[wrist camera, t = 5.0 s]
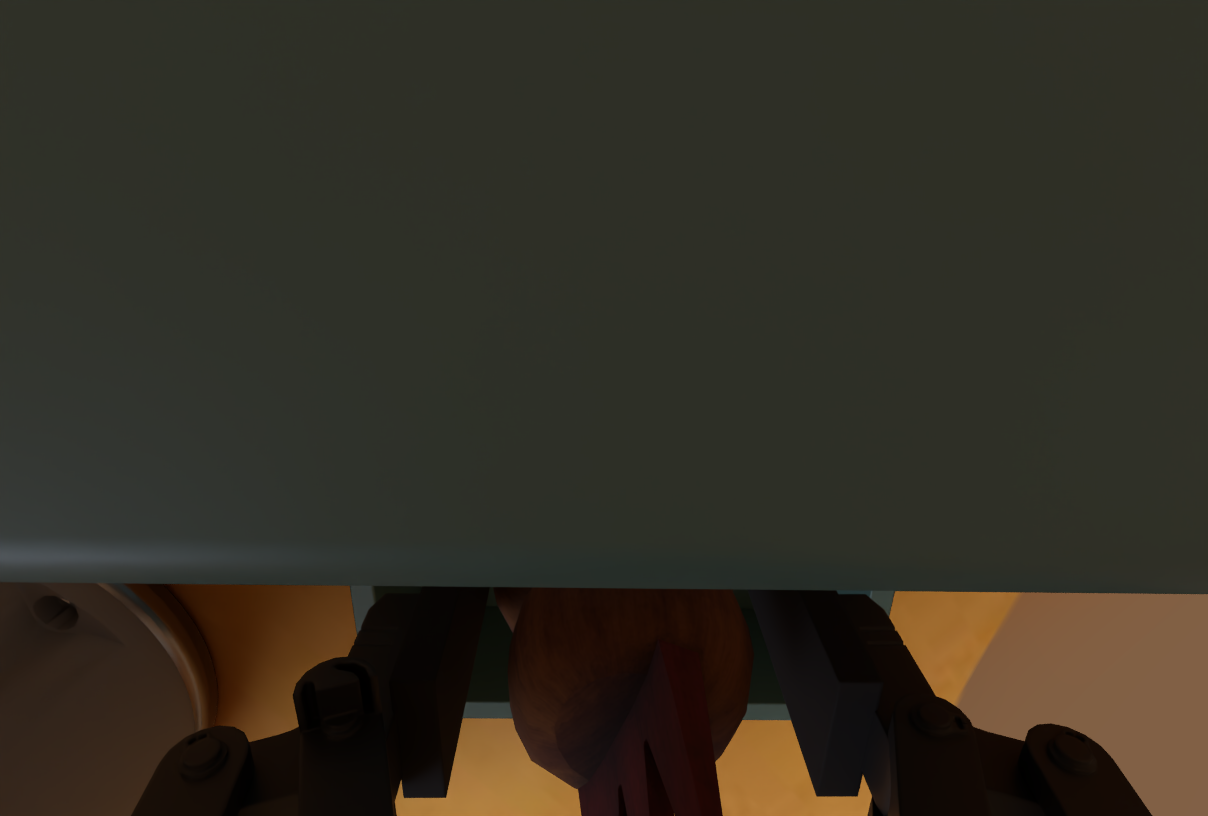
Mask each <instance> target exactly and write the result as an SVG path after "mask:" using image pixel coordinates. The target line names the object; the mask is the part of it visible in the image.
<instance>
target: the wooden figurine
mask: <svg viewBox="0 0 1208 816" xmlns="http://www.w3.org/2000/svg"><path fill="white" fill-rule="evenodd" d="M493 590H494V594H495V598H496V602H497V605H498V607H499V609H500V610H501V612H502V614H503V616H504V618H505V620H506V621H507V623H508V625H509V627H510V629H511V631H512V632H513V635H512V639H511V643H510V647H509V659H508V685H509V700H510V708H511V712H512V717H513V721H514V725H515V729H516V731H517V733H518V735H519V737H520V739H521V741H522V743H523V745H524V747H525V749H526V751H527V753H528V755H529V757H530V759H531V761H533V762H535V763H536V764H538V765H539V766H541V767H542V768H544V769H546V770H547V771H549V772H550V773H552V774H553V775H555V776H556V777H558V778H560V779H561V780H563V781H564V782H566V783H567V784H569V785H570V786H572V787H574V788H576V789H578V792H579V799H580V807H581V815H582V816H674V814H675V816H723V815H722V808H721V801H720V793H719V786H718V779H717V772H716V765H715V762H716V760H717V759H718V758H719V757H720V756H721V755H722V754H723V752H724V750H725V749H726V747H727V745H728V744H729V742H730V741H731V739H732V737H733V735H734V734H735V732H736V730H737V728H738V727H739V725H740V723H741V721H742V719H743V718H744V716H745V714H746V712H747V705H748V698H749V691H750V683H751V675H752V667H753V659H754V652H753V646H752V641H751V636H750V631H749V628H748V625H747V623H746V621H745V618H744V616H743V614H742V611H741V609H740V607H739V604H738V602H737V600H736V597H735V595H734V593H733V590H734V589H643V588H542V587H493Z"/></svg>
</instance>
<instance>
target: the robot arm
mask: <svg viewBox="0 0 1208 816" xmlns="http://www.w3.org/2000/svg"><path fill="white" fill-rule="evenodd" d="M489 589H490V587H441V586H422V589H421V592H420V593H385V594H384V595H383V596H382V597H381V598H380V599H379V600H378V601H377V602H376V603H375V604H374V605H373V606H371V607H370V608H369V610H368V612H367V614H366V616H365V619H364V621H363V623H362V625H361V630H360V631H359V632H358V634H357V637H356V639H355V641H354V645H353V646H352V648H351V650H350V652H349V655H348V657H339V658H333V659H330V660H328V661H325V662H322V663H319V664H318V665H316V666H315V667H313V668H312V669H310V670H309V671H307V672H306V673H305V674H304V675H303V676H302V677H301V679H300V680H299V681H298V682H297V683H296V686H295V690H294V693H293V699H294V704H295V709H296V714H297V719H298V724H299V727H298V728H296V729H294V730H291V731H288V732H285V733H283V734H280V735H276V736H272V737H268V738H264V739H260V740H256V741H252V742H249V741H248V739H247V737H246V735H245V733H244V732H243V731H241V730H239V729H237V728H235V727H231V726H215V727H213V726H214V723H215V718H216V714H217V705H218V689H217V680H216V675H215V670H214V666H213V663H212V660H211V657H210V654H209V651H208V649H207V647H206V645H205V642H204V640H203V638H202V636H201V634H200V633H199V631H198V629H197V627H196V626H195V624H194V622H193V621H192V620H191V618H190V617H189V615H188V614H187V612H186V611H185V610H184V608H183V607H182V606H181V605H180V603H179V602H178V601H177V600H176V599H175V597H174V596H173V595H172V594H171V593H170V592H169V591H168V590H167V589H166V588H165V587H164V586H163V585H162V584H138V583H37V582H0V816H397V815H396V808H395V799H396V795H397V792H398V788H399V785H400V781H401V780H402V788H403V796H404V798H446V795H447V790H448V786H449V781H450V776H451V771H452V766H453V762H454V757H455V752H456V747H457V743H458V738H459V733H460V728H461V723H462V719H463V714H464V709H465V704H466V699H467V695H468V690H469V685H470V680H471V675H472V671H473V666H474V661H475V656H476V651H477V647H478V642H479V637H480V632H481V628H482V623H483V618H484V613H485V608H486V604H487V599H488V594H489ZM748 592H749V595H750V598H751V601H752V604H753V607H754V610H755V613H756V616H757V619H758V622H759V625H760V628H761V631H762V634H763V637H764V640H765V643H766V646H767V649H768V652H769V655H770V658H771V661H772V664H773V667H774V670H775V673H776V676H777V679H778V682H779V685H780V688H781V691H782V694H783V697H784V700H785V703H786V706H787V709H788V712H789V715H790V718H791V721H792V724H793V727H794V730H795V733H796V736H797V739H798V742H799V745H800V748H801V751H802V754H803V757H804V760H805V763H806V766H807V769H808V772H809V775H810V778H811V781H812V784H813V787H814V790H815V793H816V796H858V792H859V788H860V784H861V780H862V775H864V777H865V780H866V782H867V785H868V787H869V789H870V792H871V794H872V799H871V803H870V808H869V812H868V816H1152V815H1151V813H1150V812H1149V810H1148V809H1147V807H1146V806H1145V805H1144V803H1143V802H1142V800H1141V799H1140V798H1139V796H1138V795H1137V793H1136V792H1135V790H1134V789H1133V787H1132V786H1131V784H1130V783H1129V782H1128V780H1127V779H1126V777H1125V776H1124V774H1123V773H1122V772H1121V770H1120V769H1119V767H1118V766H1117V764H1116V763H1115V762H1114V760H1113V759H1112V758H1111V756H1110V755H1109V754H1108V753H1107V752H1106V751H1105V750H1104V749H1103V748H1102V747H1101V746H1100V745H1099V744H1097V743H1096V742H1094V741H1093V740H1092V739H1090V738H1088V737H1087V736H1086V735H1084V734H1082V733H1080V732H1077V731H1075V730H1073V729H1071V728H1068V727H1065V726H1060V725H1055V724H1039V725H1036V726H1034V727H1033V728H1031V729H1030V730H1029V731H1028V733H1027V736H1026V739H1025V741H1021V740H1017V739H1013V738H1009V737H1006V736H1002V735H998V734H994V733H990V732H987V731H984V730H981V729H977V728H975V727H973V726H972V724H971V722H970V720H969V719H968V718H967V716H966V715H965V714H964V713H963V712H962V711H961V710H960V709H959V708H957V707H956V706H954V705H953V704H951V703H950V702H948V701H947V700H945V699H942V698H939V697H937V696H935V694H934V692H933V691H932V689H931V687H930V685H929V684H928V682H927V680H926V679H925V677H924V675H923V674H922V672H921V670H920V669H919V667H918V665H917V664H916V662H915V660H914V659H913V657H912V655H911V654H910V652H909V650H908V649H907V647H906V645H904V644H903V640H902V639H901V637H900V635H899V634H898V632H897V631H895V627H894V625H893V623H892V622H891V620H890V618H889V617H888V615H887V613H886V612H885V610H884V609H883V608H882V607H880V606H879V605H878V604H877V603H876V602H874V601H873V600H872V599H871V598H870V597H868V596H867V595H866V594H838V593H837V591H836V590H748Z"/></svg>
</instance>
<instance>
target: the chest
mask: <svg viewBox="0 0 1208 816" xmlns="http://www.w3.org/2000/svg"><path fill="white" fill-rule="evenodd" d="M421 589H422V586H350V590H351V597H352V604H353V611H354V618H355V625H356V631H357V634H358V632H359V631H360V630H361V625H362V623H363V621H364V619H365V616H366V614H367V612H368V610H369V608H370V607H371V606H373V605H374V604H375V603H376V602H377V601H378V600H379V599H380V598H381V597H382V596H383V595H384V594H385V593H420V592H421ZM836 591H837V593H838V594H866V595H867V596H868V597H870V598H871V599H872V600H873V601H874V602H876V603H877V604H878V605H879V606H880V607H882V608H883V609H884V610H885V612H886V613H887V615H888V617H889V615H890V610H891V606H892V602H893V597H894V593H895V591H845V590H836ZM733 593H734V595H735V597H736V600H737V602H738V604H739V607H740V609H741V611H742V614H743V616H744V618H745V621H746V623H747V625H748V628H749V631H750V636H751V641H752V646H753V652H754V659H753V667H752V675H751V683H750V691H749V698H748V705H747V712H746V714H745V716H744V718H743V719H742V720H791V718H790V715H789V712H788V709H787V706H786V703H785V700H784V697H783V694H782V691H781V688H780V685H779V682H778V679H777V676H776V673H775V670H774V667H773V664H772V661H771V658H770V655H769V652H768V649H767V646H766V643H765V640H764V637H763V634H762V631H761V628H760V625H759V622H758V619H757V616H756V613H755V610H754V607H753V604H752V601H751V598H750V595H749V592H748V590H743V589H734V590H733ZM512 635H513V632H512V631H511V629H510V627H509V625H508V623H507V621H506V620H505V618H504V616H503V614H502V612H501V610H500V609H499V607H498V605H497V602H496V598H495V594H494V590H493V587H490V589H489V594H488V599H487V604H486V608H485V613H484V618H483V623H482V628H481V632H480V637H479V642H478V647H477V651H476V656H475V661H474V666H473V671H472V675H471V680H470V685H469V690H468V695H467V699H466V704H465V709H464V714H463V718H513V717H512V712H511V708H510V700H509V685H508V659H509V647H510V643H511V639H512Z"/></svg>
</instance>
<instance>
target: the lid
mask: <svg viewBox="0 0 1208 816" xmlns="http://www.w3.org/2000/svg"><path fill="white" fill-rule="evenodd" d="M0 582H37V583H138V584H240V585H340V586H441V587H542V588H643V589H743V590H845V591H945V592H1047V593H1049V592H1050V593H1149V594H1150V593H1152V594H1208V0H0Z"/></svg>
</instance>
